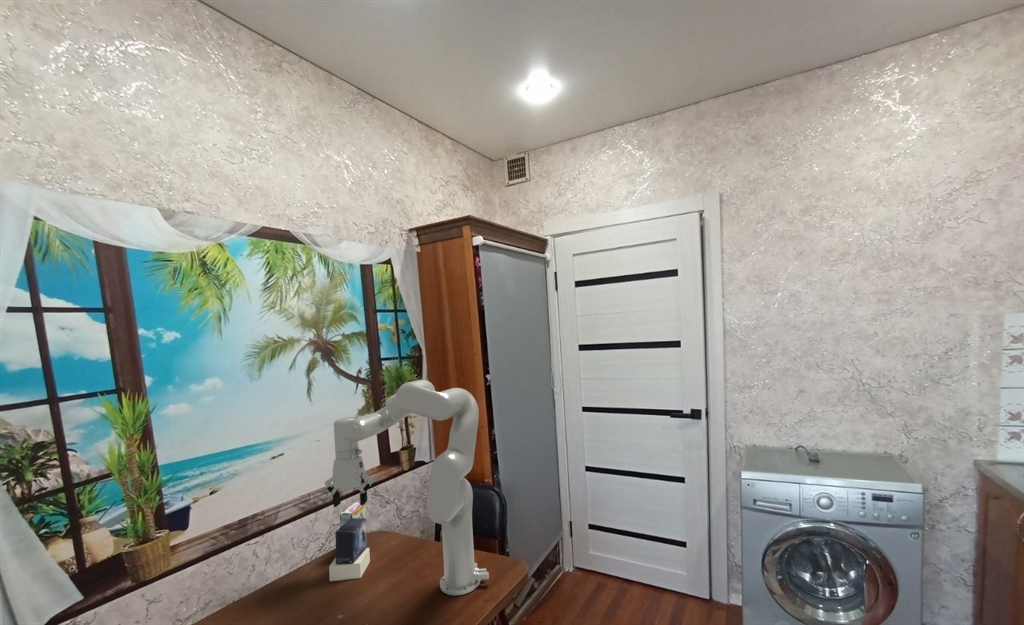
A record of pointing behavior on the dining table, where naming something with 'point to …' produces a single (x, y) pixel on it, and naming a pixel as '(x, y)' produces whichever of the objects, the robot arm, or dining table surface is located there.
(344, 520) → the candy bar box
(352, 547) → the small box
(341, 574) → the base block
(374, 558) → the dining table surface
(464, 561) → the robot arm
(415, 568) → the dining table surface
